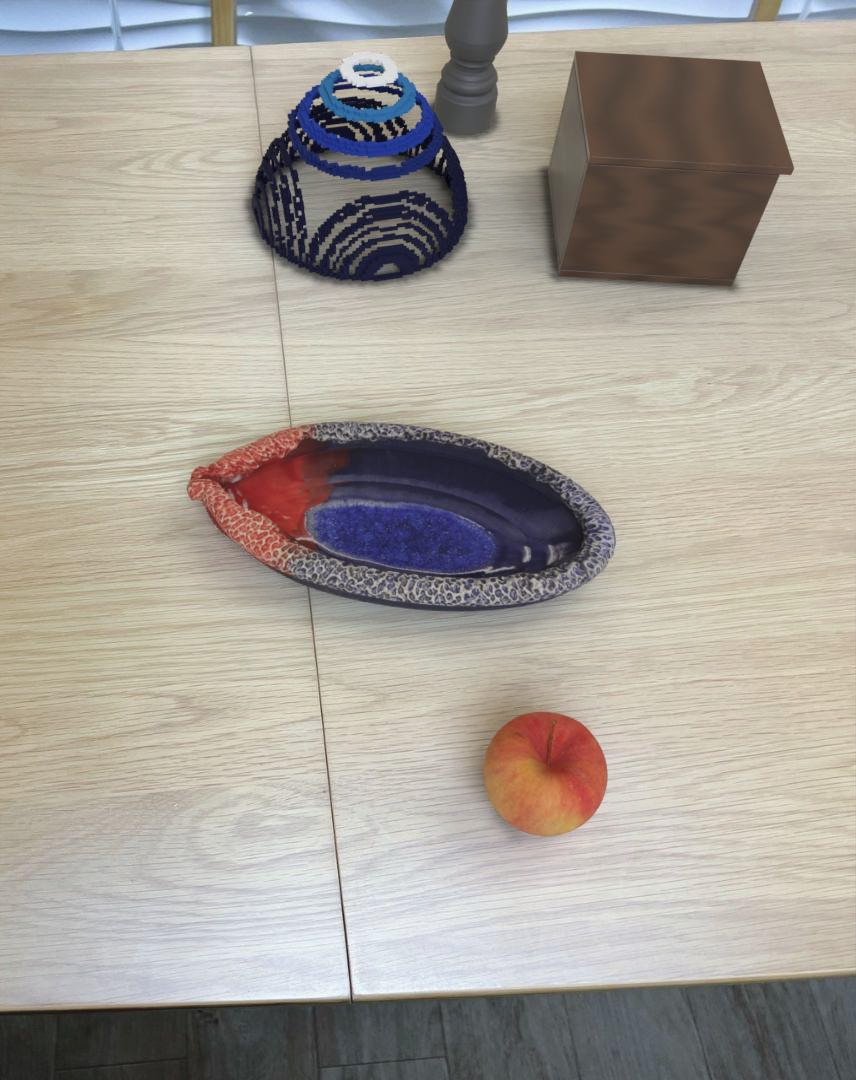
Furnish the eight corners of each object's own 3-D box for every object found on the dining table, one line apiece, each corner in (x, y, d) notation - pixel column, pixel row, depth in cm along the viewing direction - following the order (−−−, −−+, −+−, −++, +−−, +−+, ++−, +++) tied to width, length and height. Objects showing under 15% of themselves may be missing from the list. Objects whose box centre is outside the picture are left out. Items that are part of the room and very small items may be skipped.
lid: (757, 68, 98) (760, 61, 97) (791, 175, 89) (794, 168, 88) (573, 58, 98) (575, 50, 98) (588, 163, 89) (590, 156, 89)
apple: (486, 861, 67) (507, 811, 61) (464, 751, 71) (483, 694, 65) (602, 851, 68) (636, 800, 61) (574, 742, 72) (603, 684, 65)
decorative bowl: (495, 264, 100) (523, 122, 88) (280, 295, 96) (280, 153, 85) (430, 136, 111) (447, -5, 99) (236, 160, 108) (230, 18, 96)
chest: (706, 180, 108) (747, 68, 98) (731, 287, 99) (780, 175, 89) (547, 171, 108) (573, 58, 98) (558, 276, 99) (588, 164, 89)
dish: (597, 664, 75) (615, 627, 71) (167, 584, 78) (161, 544, 74) (608, 492, 84) (624, 450, 80) (221, 426, 87) (218, 382, 83)
